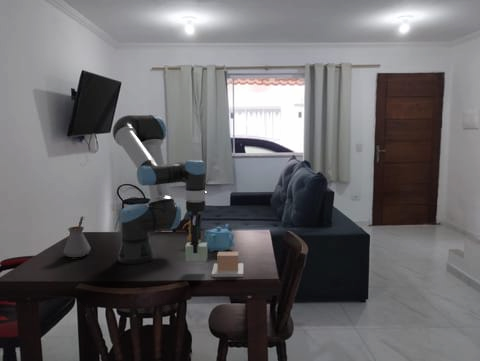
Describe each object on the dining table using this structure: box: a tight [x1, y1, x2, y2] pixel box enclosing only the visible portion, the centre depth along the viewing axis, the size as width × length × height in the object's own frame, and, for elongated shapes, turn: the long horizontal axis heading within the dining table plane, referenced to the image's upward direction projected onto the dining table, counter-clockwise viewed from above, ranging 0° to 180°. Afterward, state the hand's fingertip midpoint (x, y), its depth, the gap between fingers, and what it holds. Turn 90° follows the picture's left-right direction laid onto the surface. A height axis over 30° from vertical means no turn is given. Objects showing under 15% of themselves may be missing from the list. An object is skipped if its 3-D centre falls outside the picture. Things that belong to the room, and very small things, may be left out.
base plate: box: [211, 262, 244, 278], centre depth 162 cm, size 12×12×1 cm
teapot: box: [204, 223, 235, 253], centre depth 191 cm, size 13×14×11 cm
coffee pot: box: [63, 216, 91, 258], centre depth 190 cm, size 21×12×15 cm, turn 9°
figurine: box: [182, 219, 191, 242], centre depth 203 cm, size 8×6×12 cm
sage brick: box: [184, 241, 208, 262], centre depth 162 cm, size 8×5×6 cm, turn 89°
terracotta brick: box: [216, 251, 239, 271], centre depth 162 cm, size 8×5×6 cm, turn 89°
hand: (196, 257), depth 163 cm, fingers closed on sage brick, 5 cm apart
